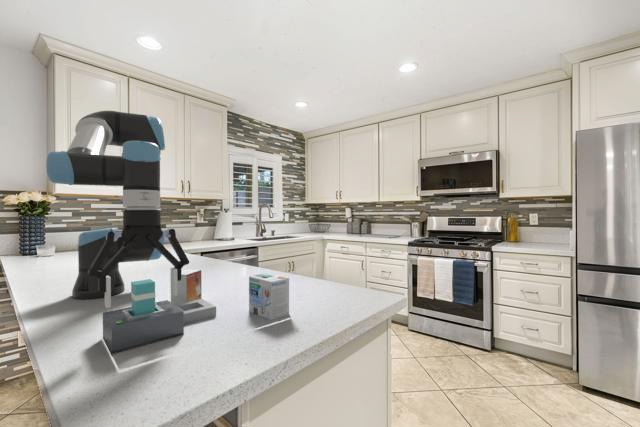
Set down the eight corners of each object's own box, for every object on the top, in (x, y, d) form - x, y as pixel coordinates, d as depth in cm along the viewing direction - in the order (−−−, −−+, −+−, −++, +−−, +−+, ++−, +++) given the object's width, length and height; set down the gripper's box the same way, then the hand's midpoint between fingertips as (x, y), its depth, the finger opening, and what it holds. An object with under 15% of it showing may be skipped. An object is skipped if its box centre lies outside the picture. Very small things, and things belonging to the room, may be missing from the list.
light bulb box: (248, 313, 87) (247, 275, 86) (267, 307, 91) (266, 272, 91) (271, 322, 79) (270, 281, 79) (290, 315, 84) (290, 277, 84)
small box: (186, 309, 90) (186, 274, 90) (170, 308, 91) (169, 274, 91) (202, 301, 97) (202, 269, 97) (186, 300, 99) (186, 269, 98)
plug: (131, 333, 70) (130, 281, 70) (150, 328, 73) (150, 279, 73) (135, 338, 67) (134, 285, 67) (155, 333, 70) (155, 282, 70)
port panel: (102, 338, 70) (102, 310, 70) (167, 322, 79) (167, 298, 79) (112, 356, 61) (111, 325, 61) (183, 336, 70) (183, 309, 70)
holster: (166, 316, 84) (166, 306, 83) (201, 308, 90) (201, 298, 90) (178, 327, 76) (178, 315, 76) (216, 317, 83) (216, 306, 83)
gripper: (74, 209, 58) (75, 317, 59) (202, 209, 76) (202, 293, 76) (71, 209, 64) (72, 308, 64) (191, 209, 81) (191, 287, 81)
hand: (143, 300), depth 70 cm, fingers open, 13 cm apart
